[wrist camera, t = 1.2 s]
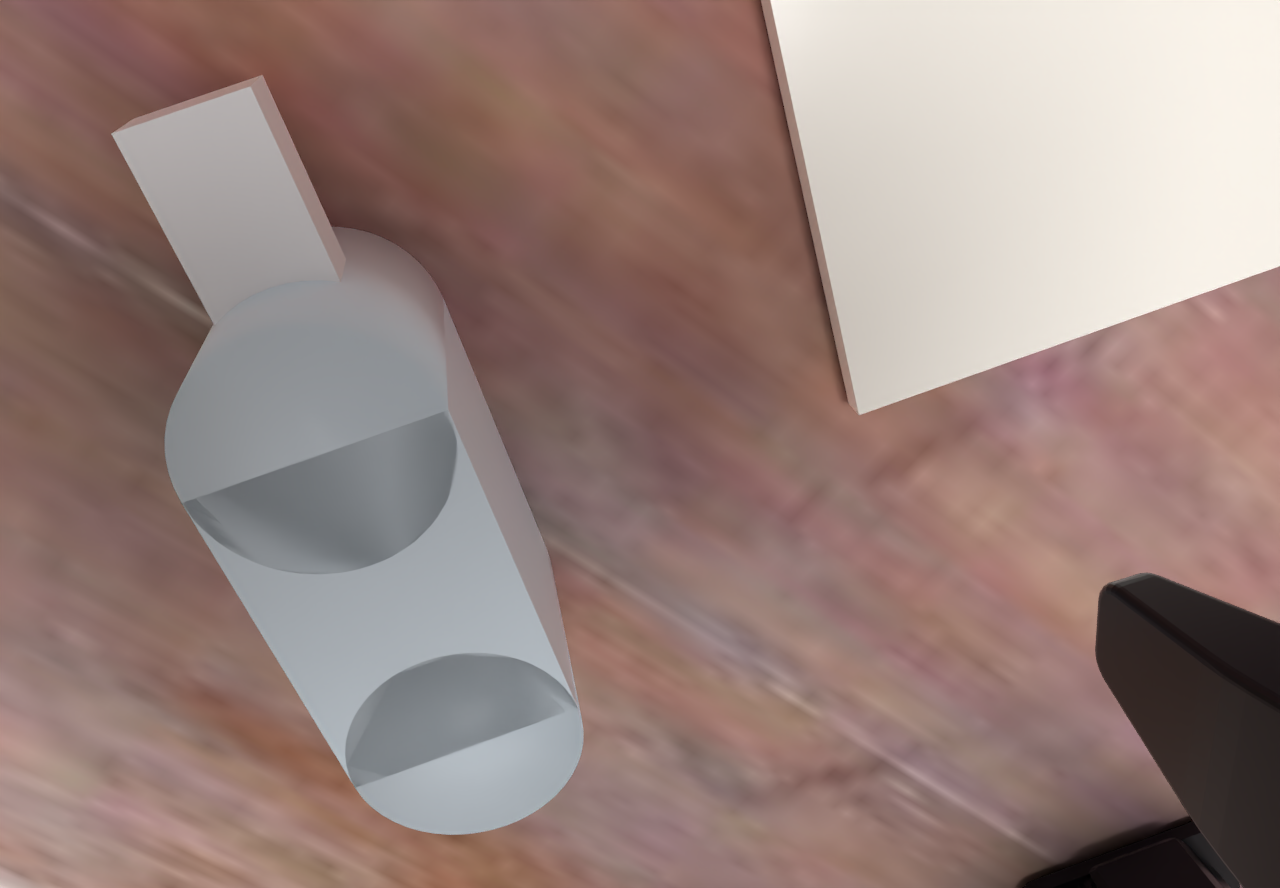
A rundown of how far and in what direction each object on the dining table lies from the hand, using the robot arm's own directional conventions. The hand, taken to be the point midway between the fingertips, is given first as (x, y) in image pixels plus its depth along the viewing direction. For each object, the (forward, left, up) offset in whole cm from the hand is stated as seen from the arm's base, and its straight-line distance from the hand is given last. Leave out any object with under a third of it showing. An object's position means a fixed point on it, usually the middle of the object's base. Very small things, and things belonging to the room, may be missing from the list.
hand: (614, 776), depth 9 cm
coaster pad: (0, -11, -12) cm, 16 cm away
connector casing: (-1, +3, -12) cm, 13 cm away
